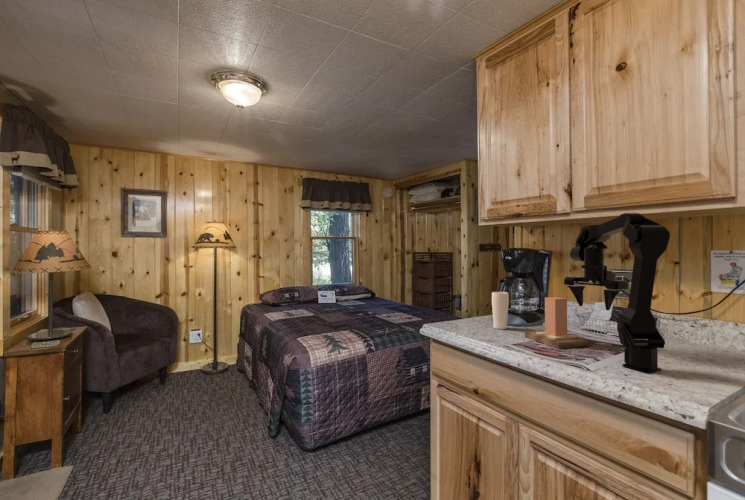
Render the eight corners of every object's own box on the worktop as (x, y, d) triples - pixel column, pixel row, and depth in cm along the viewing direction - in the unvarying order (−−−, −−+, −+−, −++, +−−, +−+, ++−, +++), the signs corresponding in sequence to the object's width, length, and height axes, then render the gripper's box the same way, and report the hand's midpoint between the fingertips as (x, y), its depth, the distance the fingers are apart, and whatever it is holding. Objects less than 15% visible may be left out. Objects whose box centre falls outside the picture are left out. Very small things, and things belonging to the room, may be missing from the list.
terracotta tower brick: (567, 335, 123) (567, 298, 123) (555, 336, 122) (555, 299, 122) (556, 332, 128) (556, 297, 128) (544, 333, 127) (544, 297, 127)
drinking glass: (488, 327, 148) (488, 292, 148) (501, 326, 150) (501, 291, 150) (498, 330, 141) (498, 293, 142) (512, 329, 143) (512, 293, 144)
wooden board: (589, 345, 119) (589, 338, 119) (558, 348, 115) (558, 341, 115) (553, 334, 134) (553, 328, 134) (525, 337, 131) (525, 330, 131)
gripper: (638, 262, 113) (638, 310, 113) (583, 261, 130) (583, 302, 130) (616, 263, 108) (616, 313, 108) (562, 261, 126) (562, 304, 126)
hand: (593, 308), depth 118 cm, fingers open, 9 cm apart
